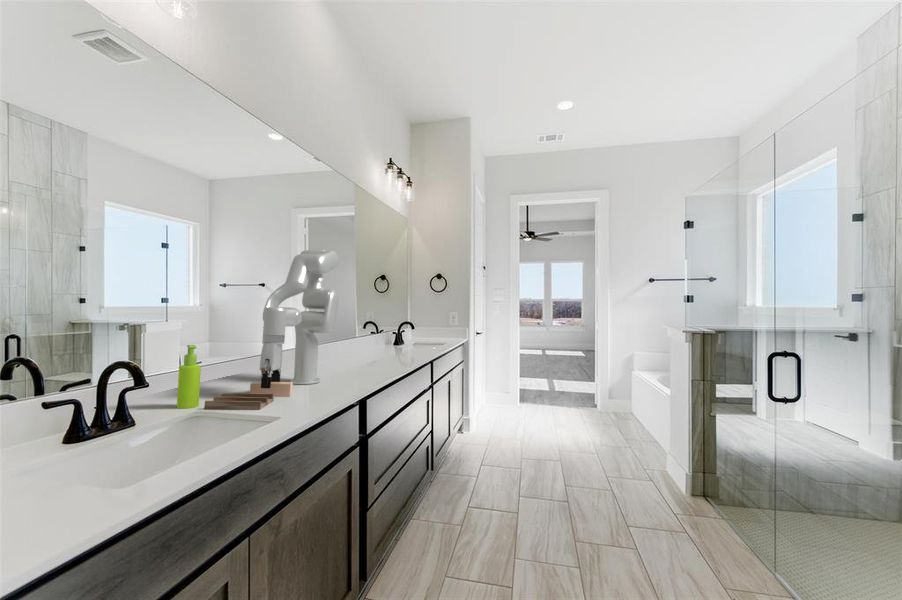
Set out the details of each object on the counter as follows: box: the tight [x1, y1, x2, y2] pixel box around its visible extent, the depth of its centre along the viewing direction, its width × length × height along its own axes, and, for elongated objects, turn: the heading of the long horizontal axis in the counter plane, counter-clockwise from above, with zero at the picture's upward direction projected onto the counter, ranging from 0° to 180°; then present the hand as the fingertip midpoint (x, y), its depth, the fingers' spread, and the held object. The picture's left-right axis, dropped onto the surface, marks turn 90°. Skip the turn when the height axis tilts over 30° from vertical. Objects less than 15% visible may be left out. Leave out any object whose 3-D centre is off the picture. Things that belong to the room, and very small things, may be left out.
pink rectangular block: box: [249, 381, 294, 398], centre depth 143 cm, size 4×14×5 cm, turn 98°
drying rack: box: [203, 392, 275, 411], centre depth 128 cm, size 12×17×2 cm
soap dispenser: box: [176, 344, 202, 410], centre depth 124 cm, size 6×7×20 cm
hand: (270, 385), depth 142 cm, fingers open, 9 cm apart
